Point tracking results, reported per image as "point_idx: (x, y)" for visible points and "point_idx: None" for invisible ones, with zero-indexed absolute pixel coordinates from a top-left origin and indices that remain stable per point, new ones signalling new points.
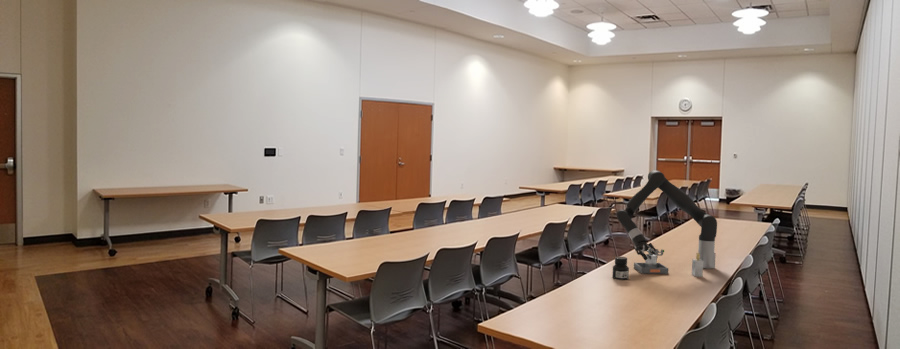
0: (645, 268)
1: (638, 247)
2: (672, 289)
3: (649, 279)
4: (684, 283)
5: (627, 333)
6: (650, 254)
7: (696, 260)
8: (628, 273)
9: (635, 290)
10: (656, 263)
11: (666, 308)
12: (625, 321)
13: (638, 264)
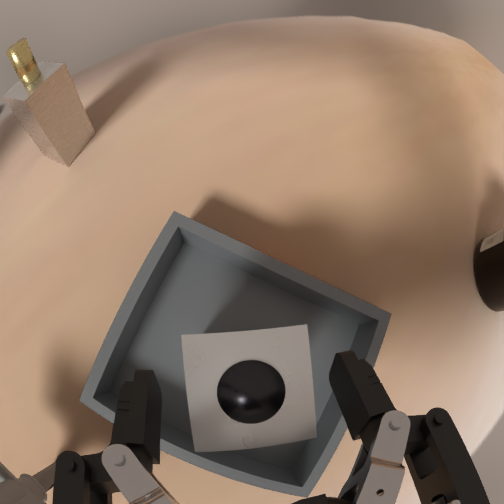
0: (363, 301)
1: (460, 486)
2: (378, 74)
3: (397, 192)
4: (272, 78)
5: (497, 72)
6: (249, 411)
7: (54, 67)
8: (495, 234)
9: (481, 137)
10: (113, 409)
11: (445, 56)
12: (500, 84)
13: (276, 475)
